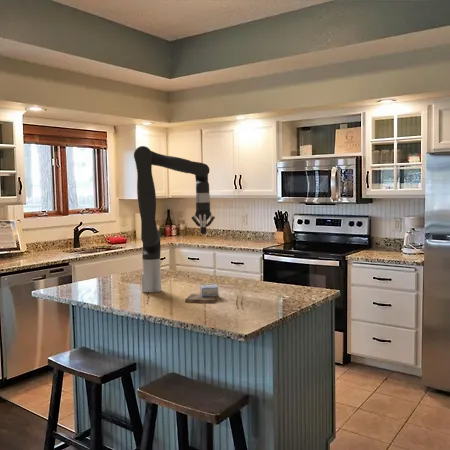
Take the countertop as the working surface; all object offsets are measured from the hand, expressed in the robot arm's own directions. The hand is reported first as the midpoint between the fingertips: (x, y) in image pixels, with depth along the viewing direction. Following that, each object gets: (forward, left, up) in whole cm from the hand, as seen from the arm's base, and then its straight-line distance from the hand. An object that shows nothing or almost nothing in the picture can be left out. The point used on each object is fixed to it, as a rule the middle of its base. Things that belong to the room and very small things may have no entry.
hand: (203, 234), depth 262 cm
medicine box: (+6, -18, -25) cm, 32 cm away
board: (+5, -27, -29) cm, 40 cm away
